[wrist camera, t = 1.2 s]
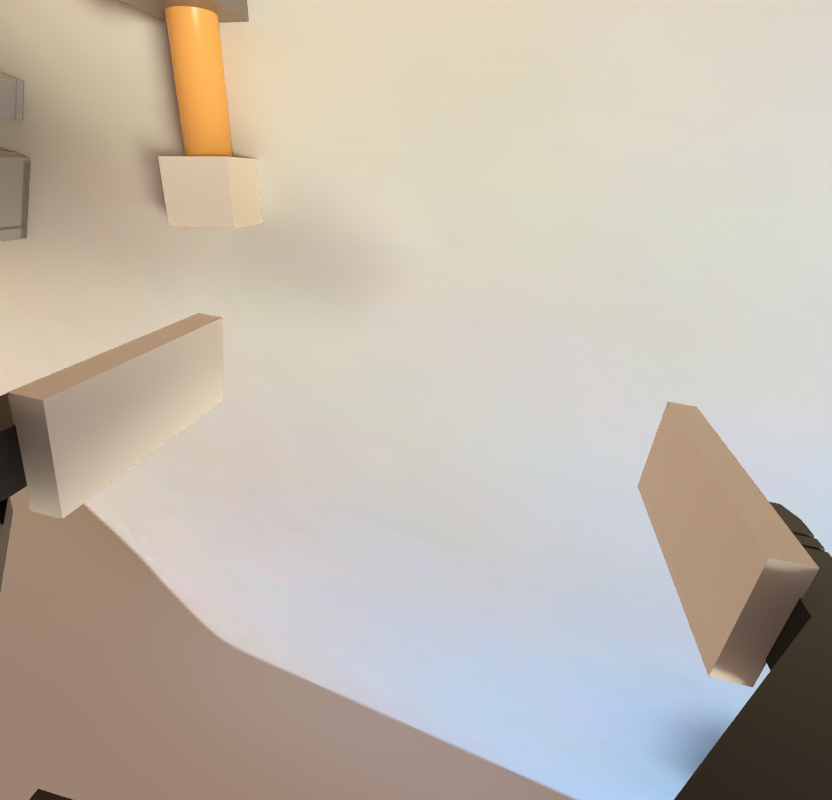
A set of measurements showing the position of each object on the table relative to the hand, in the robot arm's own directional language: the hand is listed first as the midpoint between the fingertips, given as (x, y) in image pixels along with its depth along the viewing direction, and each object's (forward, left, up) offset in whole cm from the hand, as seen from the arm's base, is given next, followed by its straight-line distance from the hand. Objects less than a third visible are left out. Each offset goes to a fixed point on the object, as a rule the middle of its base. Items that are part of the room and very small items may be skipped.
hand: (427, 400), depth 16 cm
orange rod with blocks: (-9, -21, -21) cm, 32 cm away
